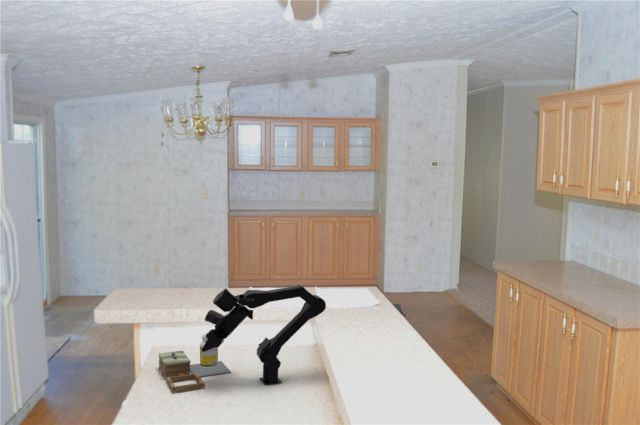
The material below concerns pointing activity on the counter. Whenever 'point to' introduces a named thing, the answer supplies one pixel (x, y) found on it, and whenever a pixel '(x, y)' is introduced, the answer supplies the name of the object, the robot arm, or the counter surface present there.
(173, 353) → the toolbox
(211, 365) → the pill bottle
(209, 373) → the slate mat
